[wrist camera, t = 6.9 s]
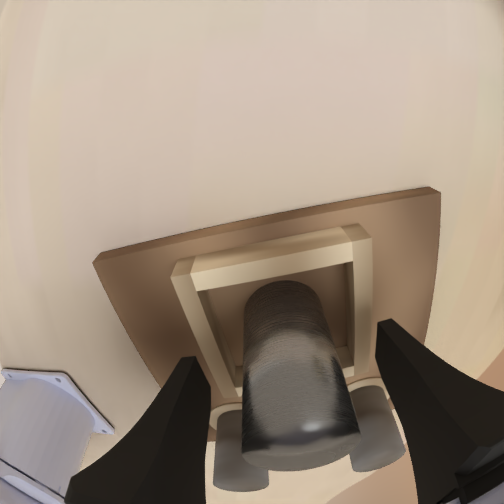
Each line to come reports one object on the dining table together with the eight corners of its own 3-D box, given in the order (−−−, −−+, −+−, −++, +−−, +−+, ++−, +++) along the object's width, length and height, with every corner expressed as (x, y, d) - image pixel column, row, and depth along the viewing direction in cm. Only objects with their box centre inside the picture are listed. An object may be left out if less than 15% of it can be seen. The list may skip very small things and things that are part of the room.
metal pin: (253, 347, 15) (255, 475, 8) (235, 289, 13) (226, 432, 7) (324, 333, 14) (358, 458, 8) (316, 272, 13) (364, 408, 6)
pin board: (200, 431, 20) (194, 497, 15) (100, 252, 13) (37, 331, 8) (403, 394, 19) (428, 456, 14) (429, 186, 12) (516, 239, 7)
